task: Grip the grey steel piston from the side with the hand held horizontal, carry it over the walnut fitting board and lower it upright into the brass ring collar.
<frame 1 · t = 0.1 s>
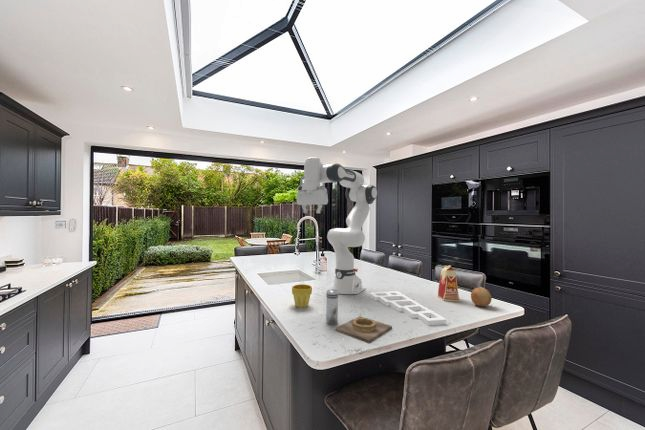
hand: (311, 213, 148), 48 cm above the countertop, tool pointing down, fingers open, 8 cm apart
holder: (402, 309, 142), on the countertop
piston: (331, 322, 121), on the countertop
onion: (480, 306, 147), on the countertop
ring stand: (364, 329, 115), on the countertop
milk carton: (448, 299, 159), on the countertop
plant pot: (301, 305, 143), on the countertop
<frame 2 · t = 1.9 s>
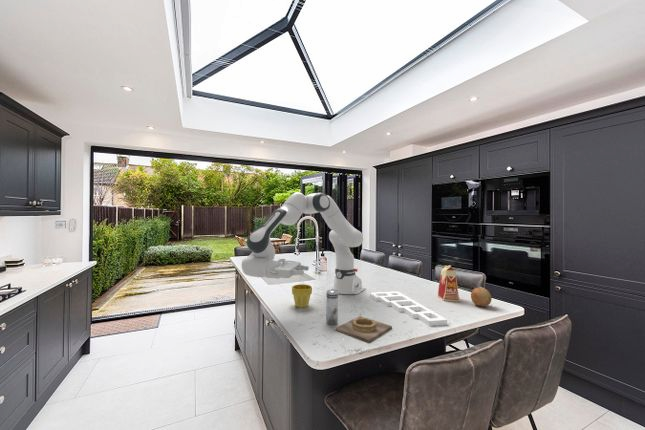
hand: (305, 270, 123), 22 cm above the countertop, tool horizontal, fingers open, 8 cm apart
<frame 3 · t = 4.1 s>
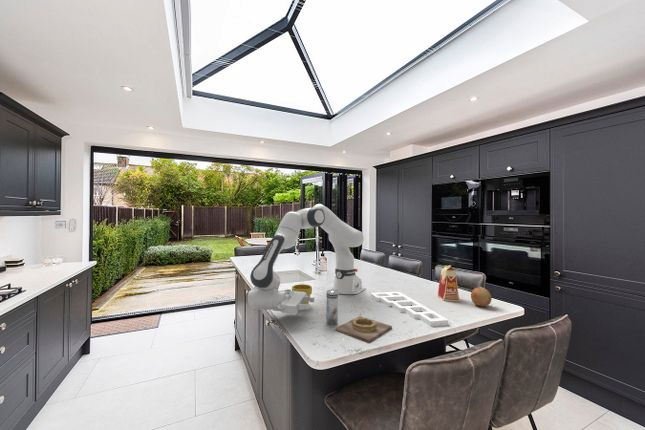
hand: (312, 303, 123), 8 cm above the countertop, tool horizontal, fingers open, 8 cm apart
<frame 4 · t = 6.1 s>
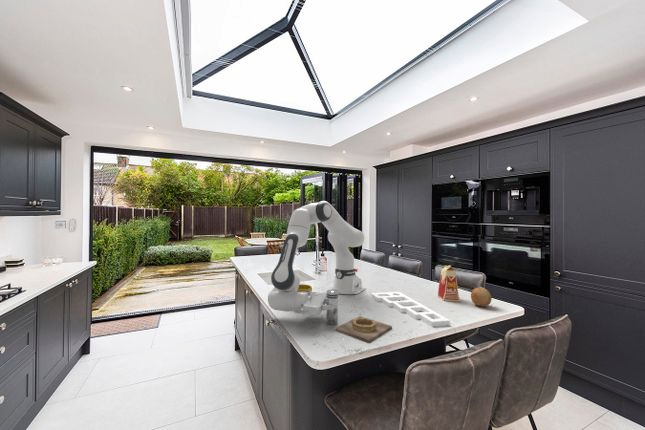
hand: (334, 304, 121), 8 cm above the countertop, tool horizontal, fingers closed on piston, 5 cm apart
piston: (331, 322, 121), on the countertop, touching gripper
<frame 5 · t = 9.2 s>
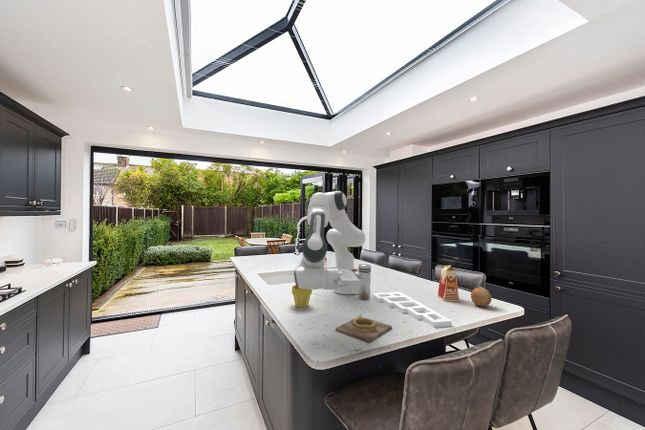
hand: (366, 278, 115), 21 cm above the countertop, tool horizontal, fingers closed on piston, 5 cm apart
piston: (364, 298, 115), point 13 cm above the countertop, touching gripper
when the fingers open (10 cm above the countertop, at t = 12.1 s): piston stays where it is, resting on ring stand.
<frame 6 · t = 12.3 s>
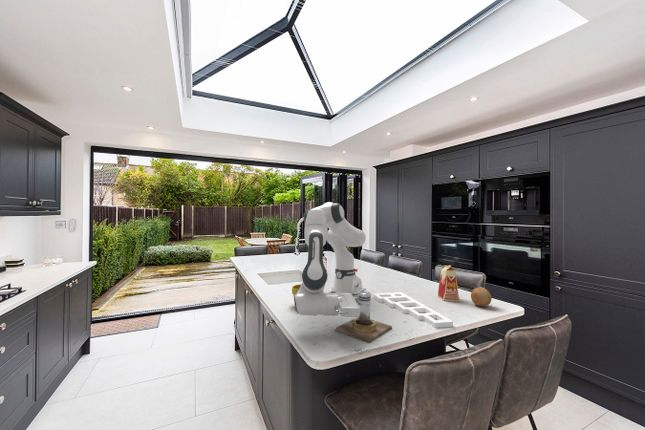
hand: (366, 304, 115), 10 cm above the countertop, tool horizontal, fingers open, 7 cm apart
piston: (363, 326, 115), point 1 cm above the countertop, touching ring stand
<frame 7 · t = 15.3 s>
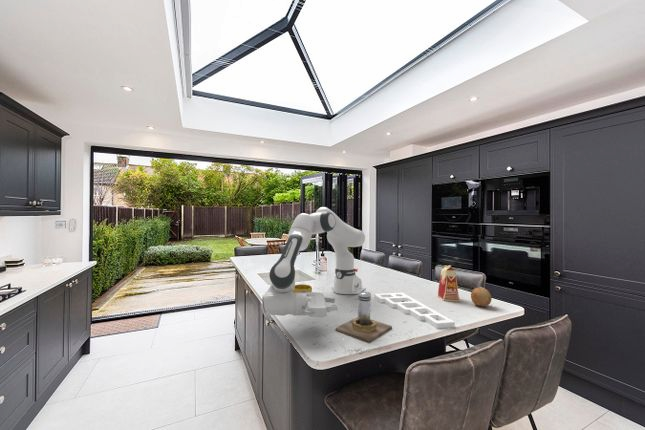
hand: (336, 303, 114), 11 cm above the countertop, tool horizontal, fingers open, 8 cm apart
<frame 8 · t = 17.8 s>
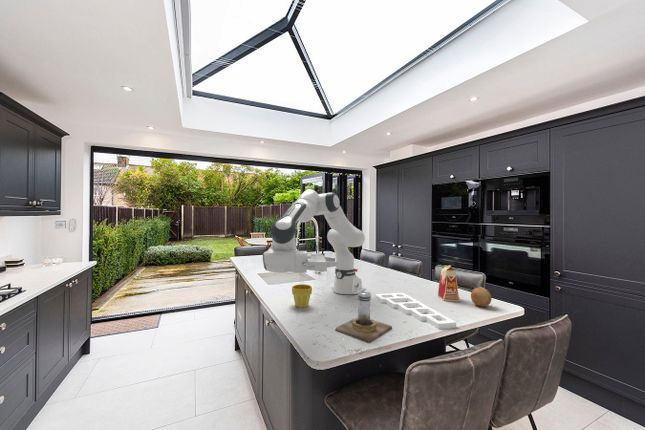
hand: (336, 261, 114), 28 cm above the countertop, tool horizontal, fingers open, 8 cm apart
at the end: piston 0.1 cm off-centre on the ring stand, point 1.0 cm above the ring stand's base; piston tilted 0°; the gripper is holding nothing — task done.
